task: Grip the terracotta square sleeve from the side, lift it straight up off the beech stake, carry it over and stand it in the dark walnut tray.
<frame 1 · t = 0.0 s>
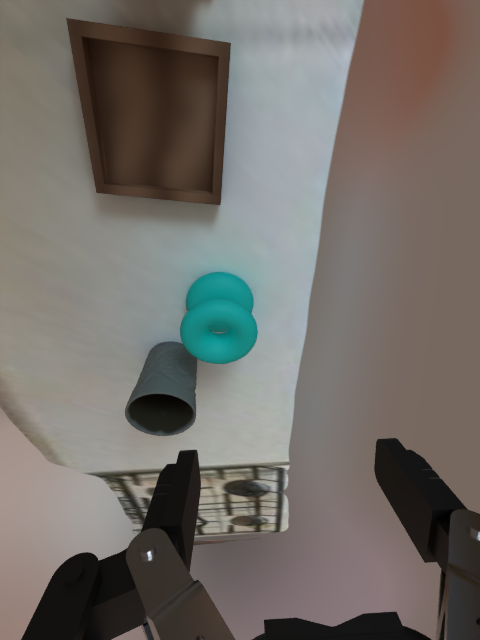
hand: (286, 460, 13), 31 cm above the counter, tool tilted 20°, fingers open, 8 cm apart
tray: (160, 125, 31), on the counter
donuts: (220, 297, 45), on the counter
grey tapered cup: (172, 357, 52), on the counter
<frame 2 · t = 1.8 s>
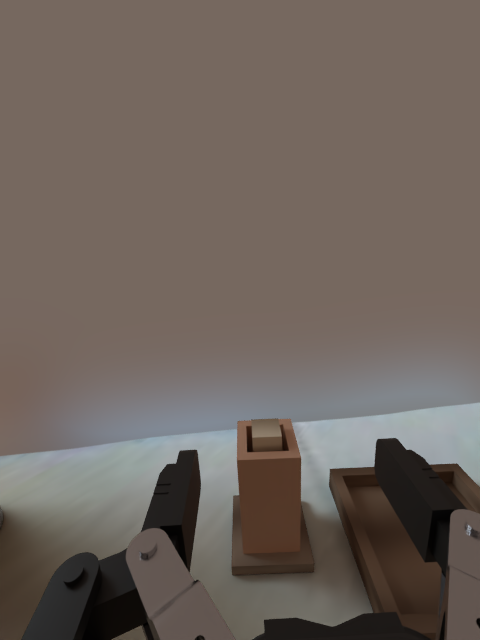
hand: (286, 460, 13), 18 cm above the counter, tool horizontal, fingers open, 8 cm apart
tray: (429, 547, 26), on the counter
sleeve: (269, 525, 28), point 1 cm above the counter, touching stake
stake: (269, 533, 28), on the counter
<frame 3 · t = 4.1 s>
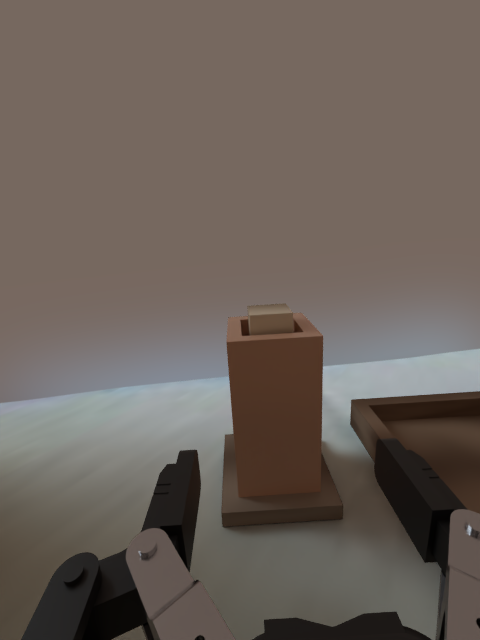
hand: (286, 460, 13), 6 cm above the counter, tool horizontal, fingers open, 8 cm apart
sleeve: (274, 464, 20), point 1 cm above the counter, touching stake
stake: (274, 476, 20), on the counter
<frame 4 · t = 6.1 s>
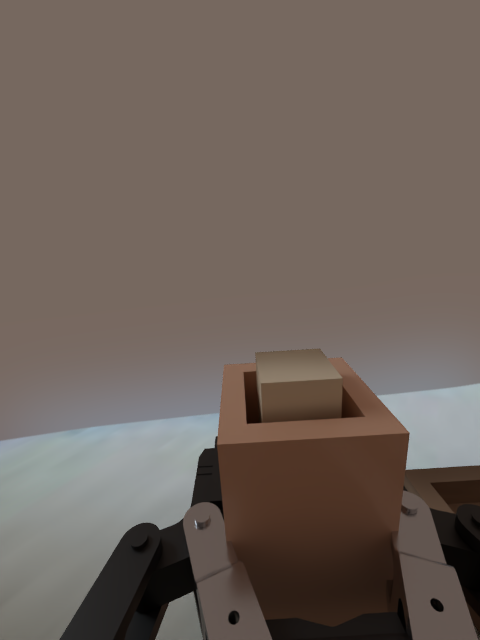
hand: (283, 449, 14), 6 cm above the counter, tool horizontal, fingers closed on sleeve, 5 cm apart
sleeve: (296, 597, 13), point 1 cm above the counter, touching gripper, stake
stake: (296, 614, 13), on the counter
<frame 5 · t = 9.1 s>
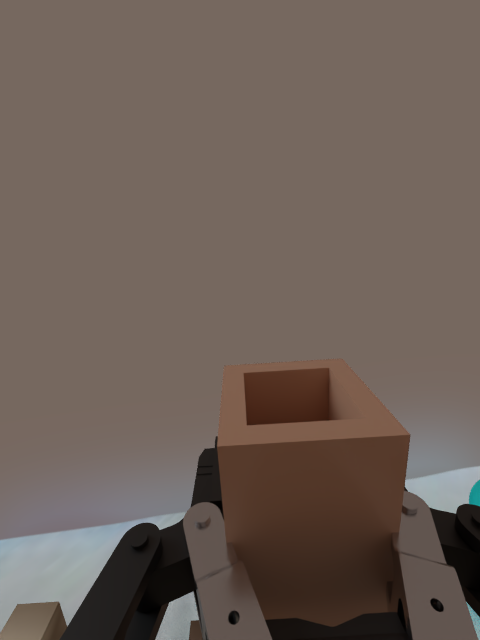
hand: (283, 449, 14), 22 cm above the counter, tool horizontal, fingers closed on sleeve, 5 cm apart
sleeve: (296, 599, 13), point 16 cm above the counter, touching gripper
when the fingers open (8 cm above the counter, at t = 12.2 s): sleeve drops 2 cm, resting on tray.
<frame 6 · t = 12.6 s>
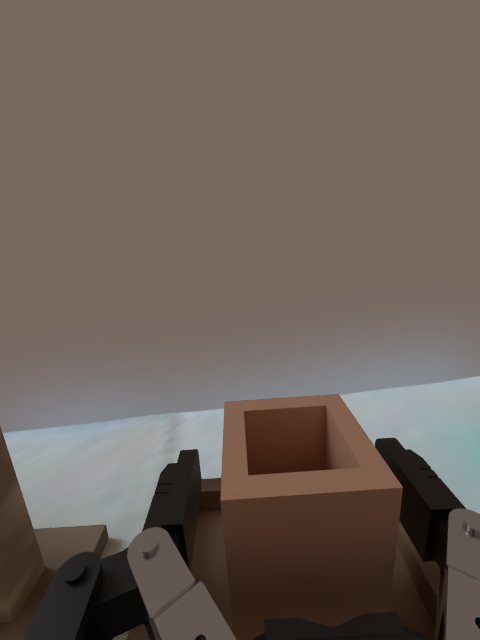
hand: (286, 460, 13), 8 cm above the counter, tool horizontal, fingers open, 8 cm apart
tray: (296, 637, 13), on the counter
sleeve: (295, 626, 13), point 1 cm above the counter, touching tray
stake: (12, 607, 15), on the counter
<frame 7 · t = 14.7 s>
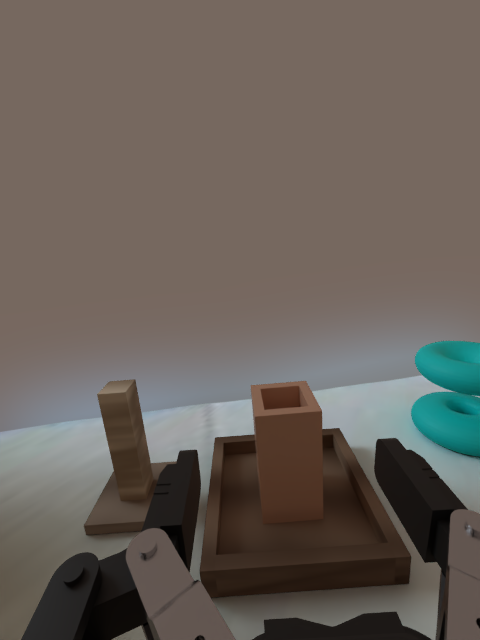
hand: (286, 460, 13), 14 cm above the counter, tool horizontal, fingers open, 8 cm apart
tray: (288, 503, 27), on the counter
sleeve: (287, 496, 26), point 1 cm above the counter, touching tray
donuts: (459, 434, 34), on the counter
stake: (139, 498, 29), on the counter
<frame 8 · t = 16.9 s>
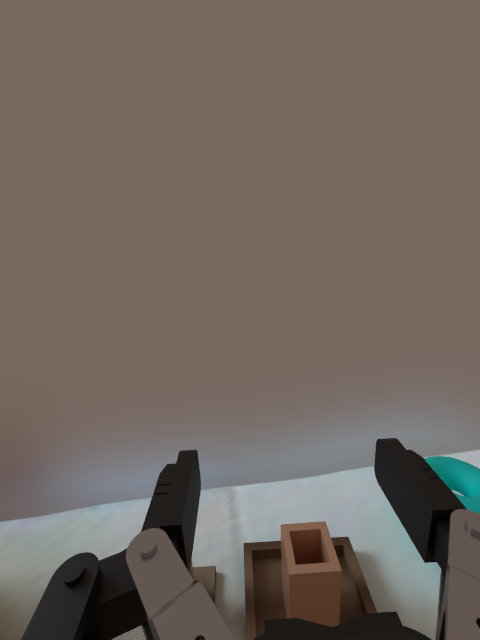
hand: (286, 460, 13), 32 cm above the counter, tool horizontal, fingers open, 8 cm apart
tray: (308, 617, 33), on the counter
sleeve: (308, 613, 33), point 1 cm above the counter, touching tray
donuts: (448, 538, 41), on the counter
stake: (184, 605, 35), on the counter
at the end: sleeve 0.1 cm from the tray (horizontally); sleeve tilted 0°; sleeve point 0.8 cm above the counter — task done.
